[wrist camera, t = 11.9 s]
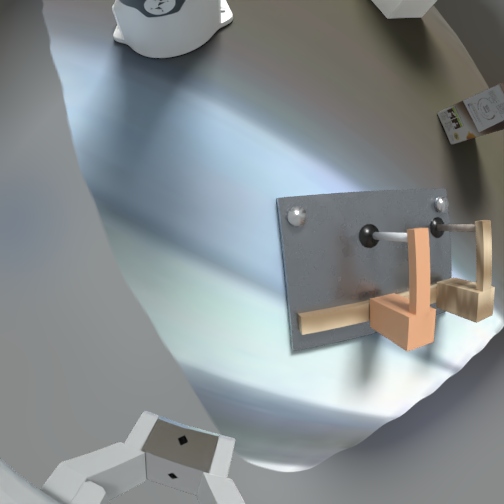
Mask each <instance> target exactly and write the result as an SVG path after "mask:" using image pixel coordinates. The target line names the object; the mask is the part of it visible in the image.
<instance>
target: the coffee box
mask: <svg viewBox="0 0 504 504" xmlns="http://www.w3.org/2000/svg"><path fill="white" fill-rule="evenodd" d="M437 114H438V116H439V118H440V121H441V123H442V125H443V127H444V130H445V132H446V134H447V137H448V139H449V141H450V143H451V144H456V143H459V142H462V141H466V140H469V139H472V138H476V137H479V136H483V135H486V134H489V133H493V132H496V131H499V130H503V129H504V83H499V84H498V85H496V86H494V87H492V88H489V89H487V90H485V91H483V92H480V93H478V94H476V95H474V96H472V97H470V98H467V99H465V100H463V101H461V102H459V103H457V104H455V105H453V106H450V107H448V108H446V109H444V110H442V111H440V112H438V113H437Z"/></svg>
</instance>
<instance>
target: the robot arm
mask: <svg viewBox="0 0 504 504" xmlns="http://www.w3.org/2000/svg"><path fill="white" fill-rule="evenodd" d="M112 10H113V13H114V16H115V19H116V21H117V27H116V29H115V32H114V34H113V36H114V39H115V41H117V42H120V43H124V44H127V45H129V46H130V47H131V48H132V49H133V50H134V51H135V52H137V53H139V54H141V55H143V56H147V57H152V58H168V57H174V56H178V55H182V54H185V53H188V52H190V51H193V50H195V49H196V48H198V47H200V46H201V45H203V44H204V43H206V42H207V41H208V40H209V39H210V38H211V37H212V36H213V35H214V33H215V32H216V31H217V30H218V29H219V28H221V27H223V26H225V25H227V24H229V23H230V22H232V20H233V14H232V12H231V10H230V8H229V6H228V4H227V2H226V0H115V3H114V5H113V6H112ZM218 437H219V438H218ZM234 445H235V438H231V437H227V436H223V435H219V434H216V433H213V432H209V431H205V430H201V429H198V428H194V427H191V426H186V425H183V424H180V423H178V422H175V421H172V420H169V419H167V418H164V417H161V416H159V415H156V414H154V413H151V412H149V411H144V412H143V413H142V414H141V416H140V418H139V419H138V421H137V423H136V424H135V426H134V428H133V429H132V431H131V432H130V434H129V436H128V437H127V439H126V441H125V442H124V443H122V442H118V443H115V444H113V445H110V446H107V447H105V448H102V449H99V450H96V451H94V452H91V453H88V454H85V455H82V456H79V457H76V458H73V459H70V460H67V461H63V462H61V463H60V464H59V465H58V467H57V468H56V469H55V470H54V472H53V473H52V474H51V476H50V477H49V478H48V480H47V481H46V483H45V484H44V485H43V486H42V488H41V489H38V488H37V487H35V486H34V485H33V484H31V483H30V482H29V481H27V480H26V479H25V478H23V477H22V476H21V475H20V474H18V473H17V472H16V471H14V470H13V469H12V468H11V467H10V466H9V465H7V464H6V463H5V462H4V461H3V460H2V459H1V458H0V504H110V502H109V501H110V500H112V499H113V498H115V497H117V496H119V495H121V494H123V493H125V492H127V491H128V490H130V489H132V488H134V487H136V486H137V485H139V484H141V483H143V482H144V481H146V479H148V480H151V481H153V482H156V483H159V484H162V485H165V486H169V487H172V488H174V489H177V490H180V491H183V492H186V493H190V494H193V495H196V496H197V499H198V502H199V504H246V503H245V502H244V500H243V498H242V496H241V494H240V493H239V491H238V489H237V487H236V485H235V483H234V482H233V480H232V479H230V478H228V473H229V468H230V464H231V459H232V454H233V450H234Z"/></svg>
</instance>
